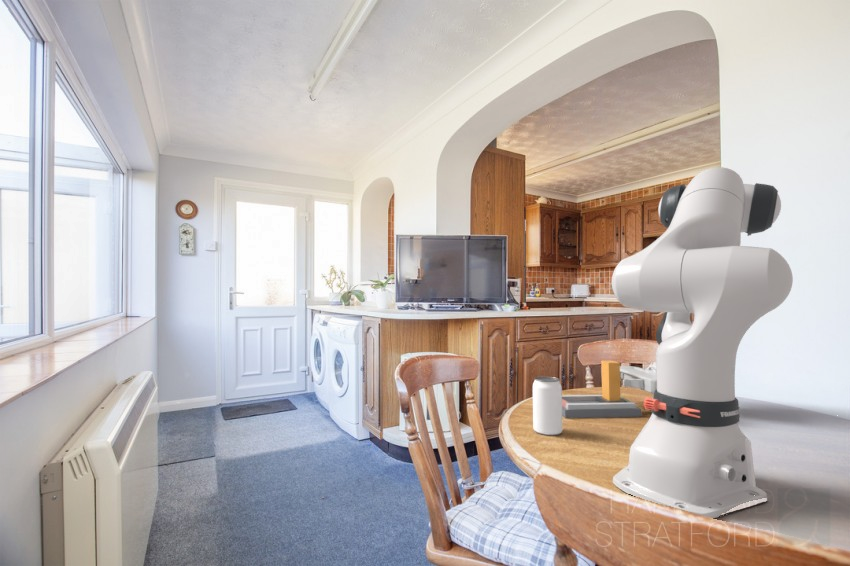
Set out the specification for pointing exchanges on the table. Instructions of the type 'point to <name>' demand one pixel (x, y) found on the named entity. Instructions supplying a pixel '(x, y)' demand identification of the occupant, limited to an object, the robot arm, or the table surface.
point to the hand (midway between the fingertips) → (612, 379)
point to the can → (547, 406)
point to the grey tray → (596, 407)
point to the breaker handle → (610, 382)
